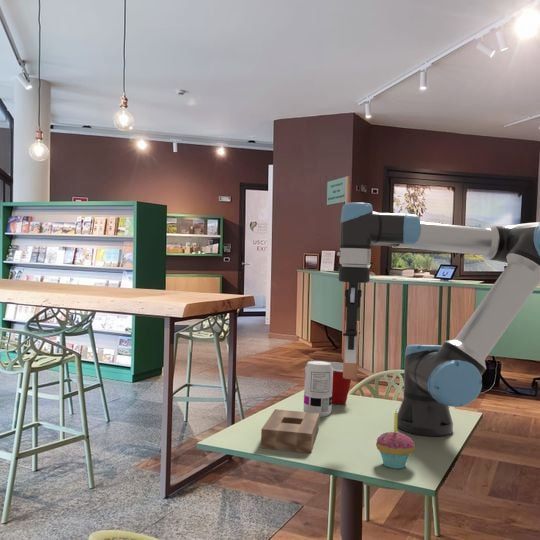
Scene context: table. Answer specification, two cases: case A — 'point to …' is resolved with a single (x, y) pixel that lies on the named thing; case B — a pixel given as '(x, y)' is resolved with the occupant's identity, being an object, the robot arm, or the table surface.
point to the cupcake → (395, 447)
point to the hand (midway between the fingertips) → (350, 361)
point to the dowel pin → (351, 368)
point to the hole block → (290, 431)
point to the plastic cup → (339, 384)
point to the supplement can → (318, 387)
